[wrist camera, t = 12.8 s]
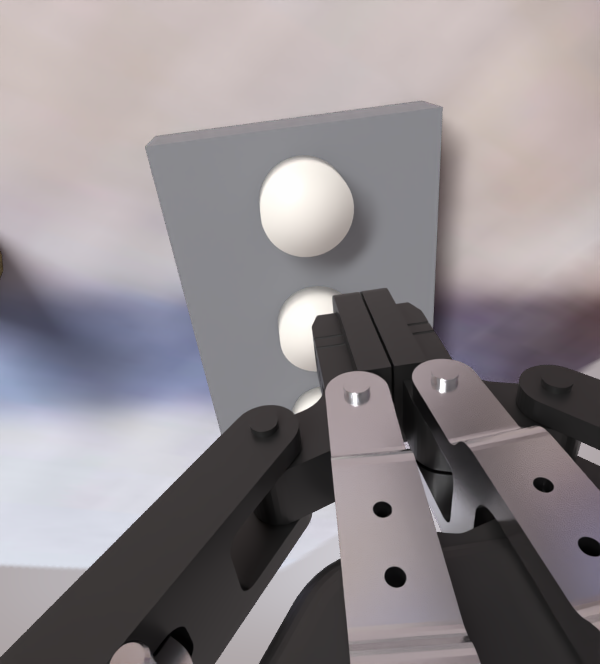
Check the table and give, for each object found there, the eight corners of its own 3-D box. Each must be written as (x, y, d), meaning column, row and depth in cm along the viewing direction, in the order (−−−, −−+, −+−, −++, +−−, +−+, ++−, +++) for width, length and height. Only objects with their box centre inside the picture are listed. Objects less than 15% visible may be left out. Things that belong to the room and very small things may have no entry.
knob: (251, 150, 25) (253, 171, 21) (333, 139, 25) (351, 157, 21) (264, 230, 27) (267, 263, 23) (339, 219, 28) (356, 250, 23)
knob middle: (270, 271, 29) (274, 309, 25) (341, 260, 29) (358, 297, 25) (280, 332, 31) (285, 376, 27) (346, 322, 31) (361, 365, 27)
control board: (155, 136, 24) (144, 146, 22) (422, 100, 25) (442, 107, 22) (230, 435, 35) (229, 465, 33) (415, 407, 36) (428, 434, 33)
